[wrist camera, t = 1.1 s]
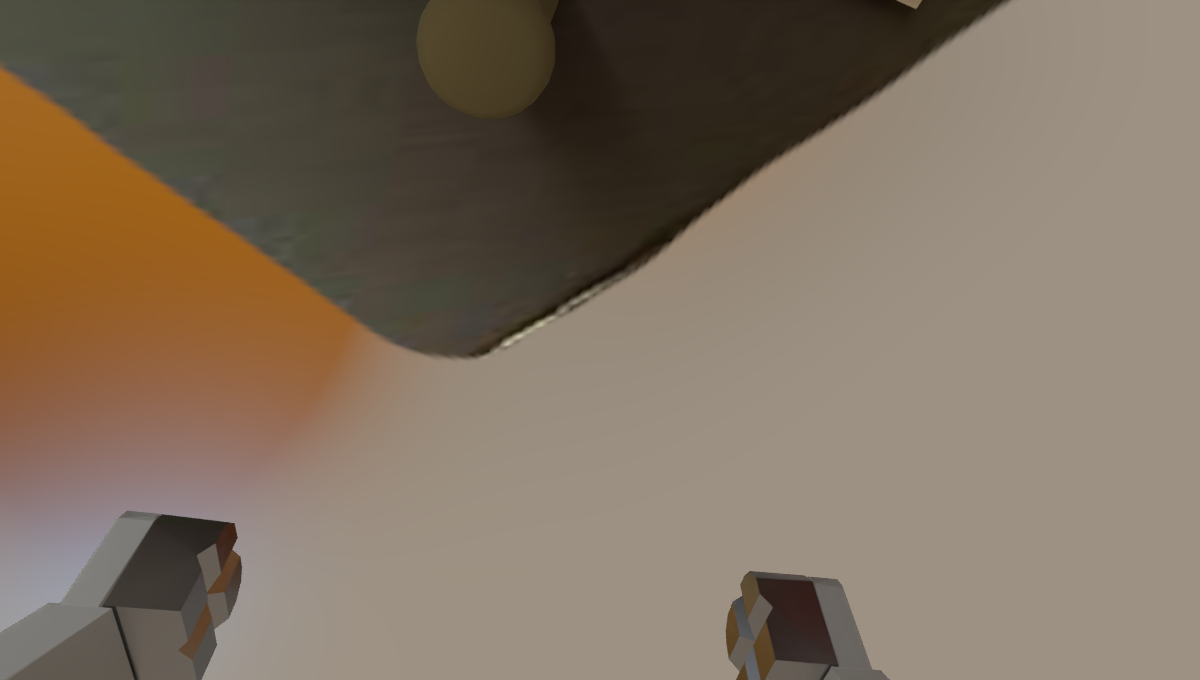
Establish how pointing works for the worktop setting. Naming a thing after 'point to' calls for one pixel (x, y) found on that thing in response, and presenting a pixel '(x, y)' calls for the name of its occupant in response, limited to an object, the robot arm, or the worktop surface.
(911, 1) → the collar board
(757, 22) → the worktop surface
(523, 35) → the cork
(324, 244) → the worktop surface
